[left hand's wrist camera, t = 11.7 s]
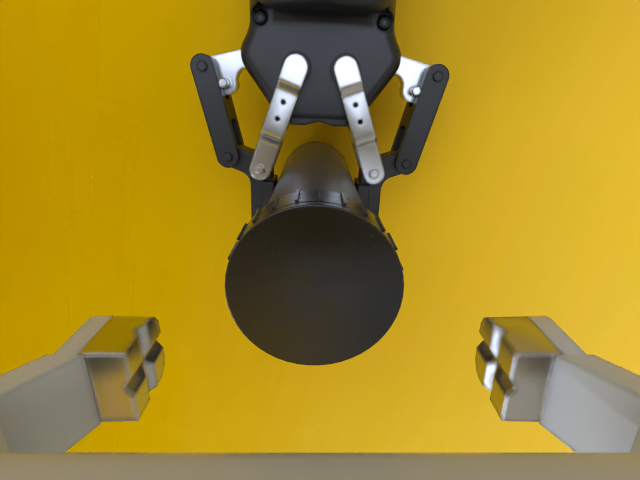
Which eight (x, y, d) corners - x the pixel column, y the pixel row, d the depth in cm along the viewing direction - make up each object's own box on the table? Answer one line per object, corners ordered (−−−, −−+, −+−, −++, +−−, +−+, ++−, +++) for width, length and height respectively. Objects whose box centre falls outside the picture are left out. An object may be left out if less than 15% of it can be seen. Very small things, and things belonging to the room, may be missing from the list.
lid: (246, 172, 14) (235, 185, 12) (413, 205, 14) (429, 223, 12) (225, 320, 15) (212, 351, 14) (372, 345, 16) (380, 379, 14)
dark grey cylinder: (290, 136, 30) (251, 199, 12) (354, 149, 30) (406, 230, 13) (279, 198, 32) (230, 335, 14) (339, 210, 32) (368, 358, 14)
